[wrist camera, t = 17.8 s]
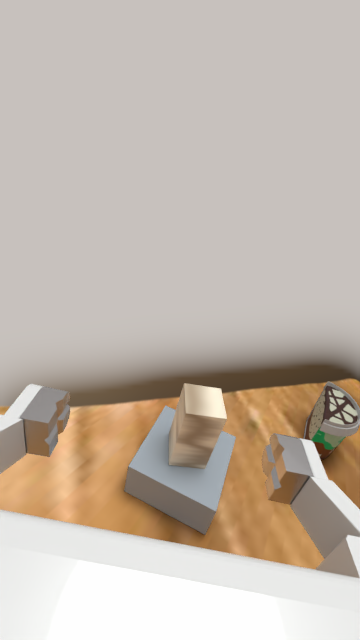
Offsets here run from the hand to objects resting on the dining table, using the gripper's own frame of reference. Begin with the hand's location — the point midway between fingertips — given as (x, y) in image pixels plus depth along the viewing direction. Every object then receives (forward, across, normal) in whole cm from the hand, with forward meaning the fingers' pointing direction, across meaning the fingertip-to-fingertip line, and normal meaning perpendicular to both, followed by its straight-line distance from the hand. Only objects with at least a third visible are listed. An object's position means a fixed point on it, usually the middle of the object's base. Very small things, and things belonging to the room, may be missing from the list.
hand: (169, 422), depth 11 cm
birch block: (+19, -5, +26) cm, 33 cm away
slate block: (+19, -5, +32) cm, 38 cm away
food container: (+30, -31, +32) cm, 54 cm away
